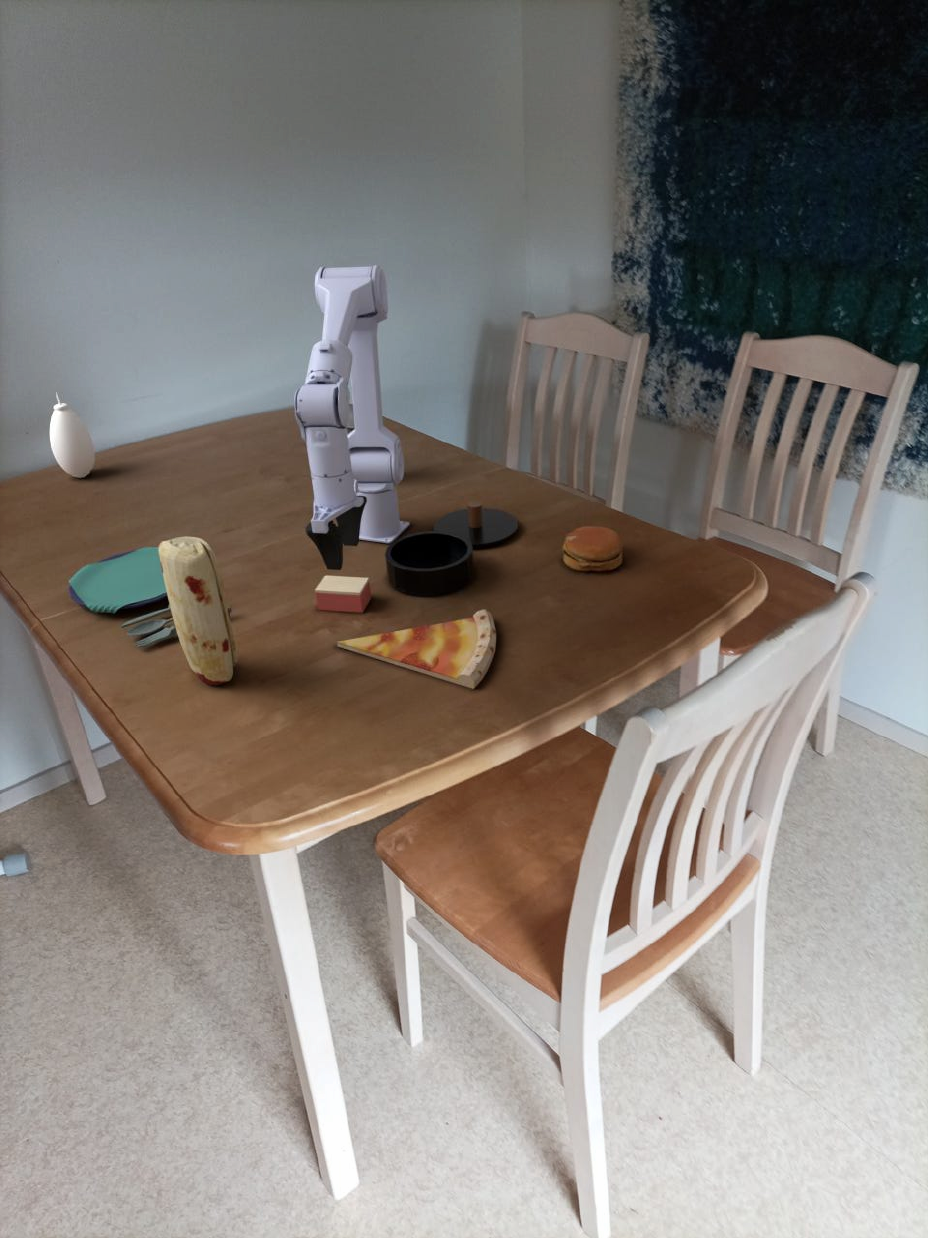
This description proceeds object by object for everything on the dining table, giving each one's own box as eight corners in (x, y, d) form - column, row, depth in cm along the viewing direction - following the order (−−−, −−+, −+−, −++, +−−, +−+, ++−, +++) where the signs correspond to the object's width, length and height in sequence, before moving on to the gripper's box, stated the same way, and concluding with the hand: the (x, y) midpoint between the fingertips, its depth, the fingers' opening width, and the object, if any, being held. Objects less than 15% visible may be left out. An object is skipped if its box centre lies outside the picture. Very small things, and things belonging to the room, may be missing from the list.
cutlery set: (174, 546, 152) (171, 535, 151) (246, 613, 131) (243, 600, 130) (57, 584, 143) (53, 571, 141) (114, 662, 122) (110, 649, 120)
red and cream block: (318, 610, 131) (314, 589, 129) (328, 595, 135) (325, 575, 133) (362, 612, 130) (359, 592, 128) (371, 597, 133) (368, 577, 132)
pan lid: (420, 543, 148) (418, 516, 146) (453, 509, 160) (451, 483, 157) (501, 555, 143) (500, 526, 141) (529, 518, 155) (528, 491, 152)
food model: (175, 670, 119) (140, 538, 109) (219, 650, 123) (189, 521, 112) (210, 700, 113) (175, 563, 102) (255, 678, 117) (226, 544, 106)
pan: (373, 589, 136) (370, 564, 133) (410, 551, 146) (407, 526, 144) (454, 602, 131) (452, 576, 129) (486, 561, 142) (484, 536, 139)
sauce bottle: (86, 466, 189) (62, 383, 179) (108, 473, 185) (84, 388, 175) (54, 478, 183) (27, 394, 174) (75, 485, 179) (49, 399, 170)
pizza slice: (400, 596, 133) (399, 585, 132) (530, 630, 123) (530, 618, 122) (337, 647, 122) (335, 635, 121) (474, 689, 112) (473, 676, 111)
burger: (632, 567, 137) (634, 540, 135) (579, 579, 135) (579, 552, 133) (604, 542, 145) (605, 516, 143) (553, 553, 143) (552, 527, 141)
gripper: (341, 491, 115) (353, 581, 122) (373, 451, 127) (382, 536, 134) (291, 489, 116) (306, 578, 123) (327, 450, 128) (339, 534, 135)
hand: (343, 556), depth 129 cm, fingers open, 7 cm apart
